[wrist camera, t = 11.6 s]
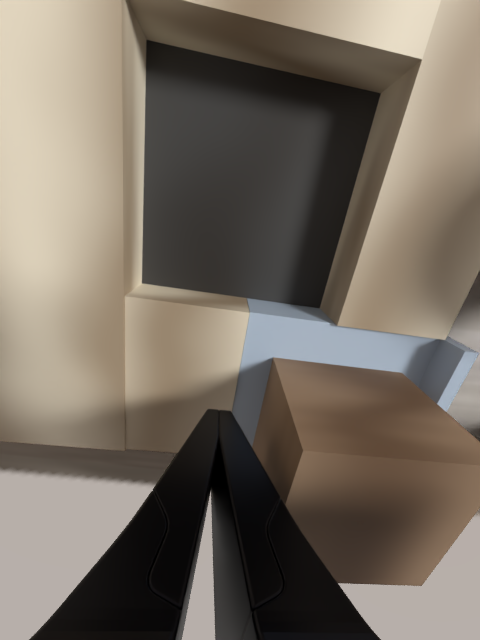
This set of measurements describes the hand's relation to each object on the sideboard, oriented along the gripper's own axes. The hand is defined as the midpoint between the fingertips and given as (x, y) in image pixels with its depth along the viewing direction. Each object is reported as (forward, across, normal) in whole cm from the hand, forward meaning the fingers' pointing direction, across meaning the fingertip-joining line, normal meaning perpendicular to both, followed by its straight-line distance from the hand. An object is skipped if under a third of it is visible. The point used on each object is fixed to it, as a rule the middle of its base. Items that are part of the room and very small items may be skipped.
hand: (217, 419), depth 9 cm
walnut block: (+1, -4, +1) cm, 4 cm away
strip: (+3, -4, 0) cm, 5 cm away
